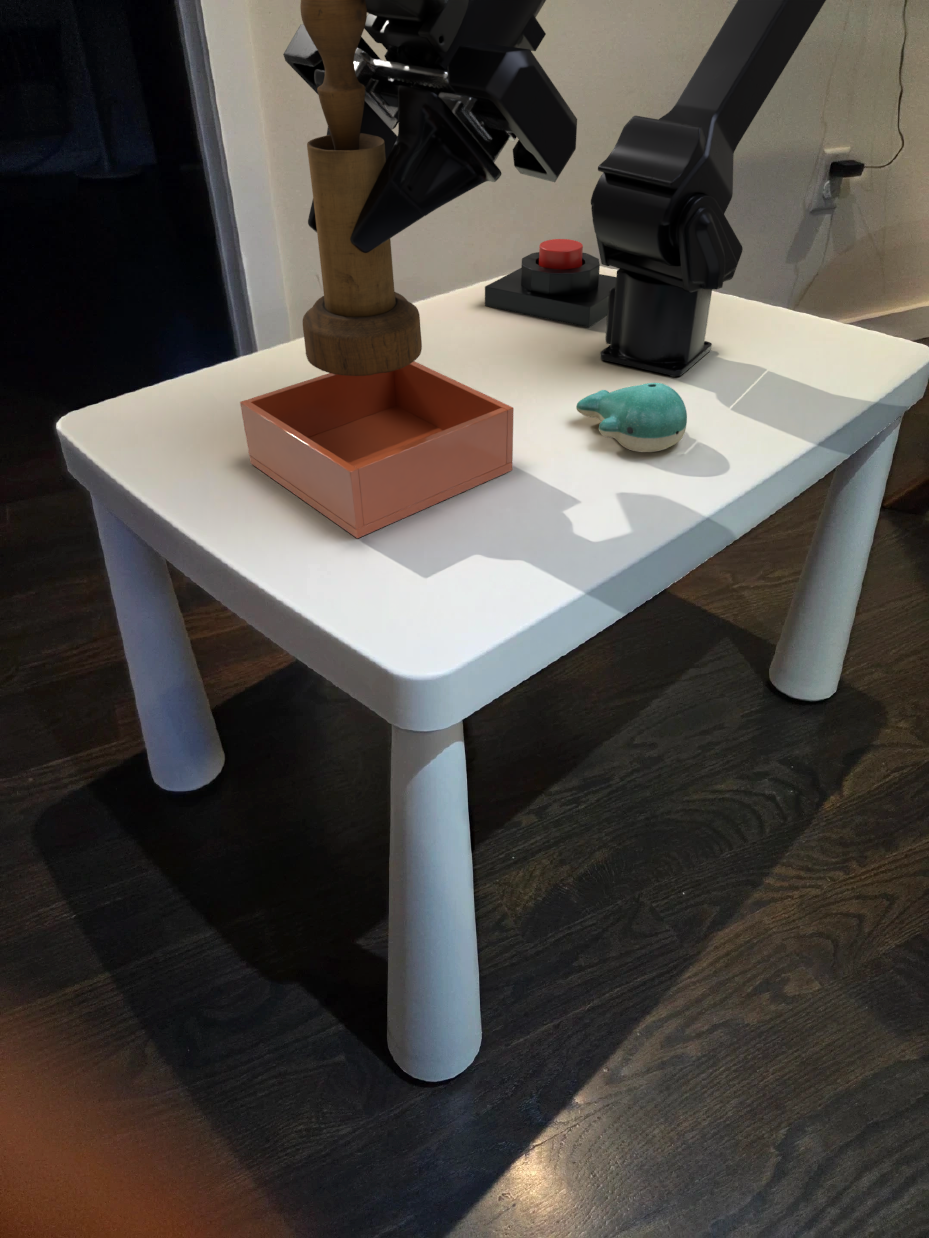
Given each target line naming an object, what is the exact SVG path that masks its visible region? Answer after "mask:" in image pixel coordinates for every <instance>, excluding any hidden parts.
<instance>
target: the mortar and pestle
mask: <svg viewBox="0 0 929 1238" xmlns="http://www.w3.org/2000/svg"><path fill="white" fill-rule="evenodd" d="M299 7H300V17H301V21H302V24H304V26H305V29H306V31H307V32H308V34H309V36H310V38H311V40H312V41H313V43H314V45H315V47H316V48H317V50H318V51H319V53H320V55H321V57H322V60H323V64H324V67H325V78H324V82H323V84H322V85H321V86H319V87H318V88H317V91H318V94H317V96H318V99H319V104H320V107H321V110H322V112H323V116H324V118H325V122H326V124H327V129H328V128H329V130H330V133H331V135H327V134H326V135H323V136H318V137H315V138H313V139H311V140H309V141H307V143H306V149H307V157H308V166H309V173H310V174H309V175H310V182H311V190H312V200H313V201H314V209H315V218H316V227H317V233H316V236H317V244H318V253H319V261H320V262H319V263H320V272H321V282H322V288H323V290H322V291H323V295H322V296H320V297H319V298H317V300H316V301H315V303H314V304H313V305H312V307H310V308H309V309H308V310H307V311H306V312H305V313H304V315H303V318H302V331H303V339H304V349H305V350H304V351H305V356H306V359H307V361H308V362H309V364H310V365H312V366H313V367H314V368H316V369H318V370H321V371H322V372H326V373H327V374H328V373H332V374H338V375H346V376H367V375H373V374H378V373H387V372H392V371H395V370H398V369H401V368H403V367H405V366H407V365H409V364H411V363H412V362H413V361H415V362H416V360H417V359H418V358H419V357H420V355H421V353H422V348H423V343H422V342H423V341H422V331H421V329H422V328H421V316H420V311H419V309H418V307H417V306H416V305H414V304H413V303H412V302H410V301H409V300H408V299H407V298H406V297H405V296H404V295H402V294H401V293H398V292H396V291H395V281H394V280H395V279H394V267H393V254H392V242H391V241H392V240H391V238H390V239H388V240H387V241H385V242H384V243H382V244H381V245H379V246H378V247H376V248H374V249H373V250H371V251H370V252H368V253H363V252H361V251H359V250H358V249H357V248H356V247H355V246H354V245H353V244H352V243H351V241H350V237H351V234H352V232H353V230H354V227H355V225H356V222H357V220H358V217H359V215H360V213H361V211H362V208H363V206H364V204H365V202H366V200H367V198H368V196H369V194H370V192H371V190H372V188H373V186H374V184H375V182H376V180H377V178H378V176H379V174H380V172H381V170H382V168H383V166H384V164H385V162H386V160H385V144H384V140H383V139H382V138H380V137H378V136H374V135H369V134H362V133H360V129H361V123H362V116H363V109H364V101H365V86H364V85H362V84H361V83H359V81H358V79H357V77H356V73H355V68H354V55H355V52H356V49H357V47H358V44H359V41H360V39H361V37H363V36H362V35H363V33H364V30H365V29H364V27H365V24H366V19H367V15H368V13H367V7H366V2H365V0H300V6H299Z"/></svg>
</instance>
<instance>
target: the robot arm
mask: <svg viewBox="0 0 929 1238" xmlns="http://www.w3.org/2000/svg"><path fill="white" fill-rule="evenodd" d="M546 1H547V0H365V2H366V7H367V19H366V24H365V27H364V30H365V32H366V33H367V34H368V35H369V36H370V38H371V39H372V40H373V41H374V42H375V43H376V44H381V45H382V46H383V48H384V49H385V50H386V51H385V54H384V59H385V60H384V59H382V58H380V56H379V55H378V54H377V53H376V51H374V50H373V48H372V47H371V46H370V45H369V43H368V42H367V41H366V40H365V39H364V38H363V36H361V39H360V41H359V44H358V47H357V49H356V52H355V55H354V68H355V73H356V77H357V79H358V81H359V83H361V84H362V85H364V86H365V101H364V109H363V116H362V123H361V129H360V133H362V134H369V135H374V136H378V137H380V138H382V139H383V140H384V144H385V160H386V162H385V164H384V166H383V168H382V170H381V172H380V174H379V176H378V178H377V180H376V182H375V184H374V186H373V188H372V190H371V192H370V194H369V196H368V198H367V200H366V202H365V204H364V206H363V208H362V211H361V213H360V215H359V217H358V220H357V222H356V225H355V227H354V230H353V232H352V234H351V237H350V241H351V243H352V244H353V245H354V246H355V247H356V248H357V249H358V250H359V251H361V252H363V253H368V252H370V251H371V250H373V249H374V248H376V247H378V246H379V245H381V244H382V243H384V242H385V241H387V240H388V239H390V240H391V238H393V237H395V236H396V235H398V234H400V233H401V232H403V231H404V230H406V229H407V228H409V227H411V226H412V225H413V224H415V223H417V222H418V221H420V220H421V219H423V218H424V217H426V216H428V215H430V214H431V213H432V212H434V211H436V210H437V209H440V208H441V207H443V206H445V205H446V204H448V203H450V202H452V201H453V200H456V199H457V198H459V197H461V196H462V195H464V194H466V193H468V192H469V191H471V190H473V189H475V188H477V187H479V186H480V185H482V184H484V183H486V182H491V183H496V182H497V181H498V180H499V179H500V178H501V177H502V175H503V174H502V170H501V169H500V168H499V166H498V165H497V164H496V163H495V162H496V161H497V160H498V158H499V156H500V154H501V153H502V151H503V149H504V148H505V146H506V145H507V143H508V142H509V141H510V142H515V141H516V139H518V140H517V142H516V143H515V145H514V147H513V148H512V158H513V166H514V168H515V169H516V170H517V171H518V172H519V174H521V175H525V176H528V177H532V178H536V179H540V180H543V181H548V182H550V183H551V182H552V183H556V182H557V180H558V178H559V177H560V175H561V173H562V172H563V171H564V169H565V168H566V165H567V164H568V163H569V161H570V159H571V158H572V156H573V154H574V153H575V151H576V150H577V133H578V132H577V131H578V118H577V117H576V114H575V113H574V112H573V110H572V108H570V106H569V105H568V103H567V102H566V100H565V98H564V97H563V96H562V94H561V93H560V92H559V90H558V88H557V87H556V86H555V84H554V82H553V81H552V79H551V78H550V77H549V75H548V74H547V72H546V71H545V69H544V68H543V67H542V65H541V64H540V62H539V60H538V59H537V58H536V56H535V54H534V53H533V52H537V50H538V48H539V46H541V45H540V44H541V43H542V41H543V40H544V38H545V36H546V34H547V33H546V32H545V30H544V29H543V26H542V25H541V24H540V22H539V21H538V19H537V16H538V15H539V13H540V12H541V10H542V8H543V7H544V5H545V3H546ZM826 1H827V0H736V3H735V4H734V6H733V7H732V9H731V11H730V12H729V14H728V16H727V17H726V19H725V21H724V23H723V24H722V26H721V28H720V29H719V31H718V33H717V35H716V36H715V38H714V39H713V41H712V43H711V44H710V46H709V48H708V49H707V50H706V53H705V54H704V56H703V58H702V59H701V61H700V62H699V65H698V66H697V68H695V71H694V72H693V75H692V76H691V78H690V79H689V81H688V82H687V85H686V86H685V87H684V89H683V90H682V93H681V95H680V96H679V98H678V100H677V101H676V103H675V104H674V106H673V107H672V108H671V110H669V111H668V112H667V113H665V114H664V115H662V116H661V117H660V118H652V117H646V116H642V115H633V116H632V117H631V118H630V119H629V120H628V121H627V122H626V124H625V125H624V126H623V128H622V130H621V132H620V134H619V137H618V139H617V141H616V143H615V144H614V147H613V149H612V150H611V151H610V153H609V154H608V156H607V157H606V159H604V160H603V161H602V162H601V163H600V164H599V165H598V166H597V171H598V172H601V175H600V177H598V180H597V182H596V183H595V184H596V185H595V186H594V189H593V191H592V194H591V198H590V205H591V206H590V207H591V208H590V209H591V218H592V224H593V230H594V233H595V237H596V243H597V247H598V253H599V260H600V264H601V265H603V266H606V267H612V268H616V269H617V270H616V275H615V277H616V286H615V287H613V288H612V289H611V290H610V291H609V300H608V312H607V316H606V323H605V324H606V325H605V337H604V338H605V339H604V341H605V343H606V345H608V346H607V347H605V348H604V349H602V350H601V351H600V354H599V355H600V356H599V359H600V360H602V361H605V362H610V363H614V364H618V365H623V366H627V367H632V368H635V369H636V368H637V369H641V370H645V371H650V372H655V373H659V374H663V375H666V376H673V377H680V376H682V375H684V374H685V373H686V372H687V371H688V370H689V369H691V368H692V367H693V366H694V365H695V364H696V363H697V362H698V361H700V360H701V359H702V358H704V356H706V355H707V354H708V353H709V352H710V351H712V347H713V344H712V342H710V341H707V340H706V333H707V327H708V322H709V321H708V320H709V313H710V308H711V302H712V301H711V300H712V294H713V290H720V289H722V288H723V285H724V283H725V282H727V281H731V280H733V278H734V276H735V273H736V270H737V268H738V264H739V261H740V259H741V256H742V254H743V245H742V243H741V242H740V239H739V238H738V237H737V235H736V232H735V231H734V229H733V227H732V226H731V224H730V222H729V220H728V218H727V217H726V215H725V213H726V212H727V210H728V207H729V205H730V203H731V201H732V199H733V195H734V158H735V157H734V156H735V155H734V154H735V152H736V149H737V148H738V146H739V144H740V142H741V140H742V139H743V137H744V135H745V134H746V132H747V130H748V129H749V127H750V126H751V124H752V123H753V120H754V119H755V117H756V115H757V114H758V113H759V111H760V109H761V108H762V106H763V104H764V103H765V101H766V99H767V98H768V96H769V95H770V93H771V91H772V90H773V88H774V87H775V85H776V83H777V81H778V80H779V78H780V77H781V75H782V73H783V72H784V70H785V68H786V67H787V65H788V63H789V62H790V60H791V58H792V57H793V55H794V53H795V52H796V50H797V48H798V47H799V45H800V44H801V42H802V40H803V39H804V37H805V36H806V34H807V32H808V31H809V29H810V27H811V26H812V24H813V22H814V21H815V19H816V18H817V16H818V15H819V12H820V11H821V9H822V8H823V6H824V4H825V3H826ZM282 54H283V58H284V61H285V62H286V63H287V64H288V65H289V66H290V67H291V68H292V69H293V71H295V73H296V74H297V75H298V76H299V77H300V78H301V79H302V80H303V81H304V82H305V83H306V84H307V85H308V86H309V87H310V88H311V90H312V91H314V93H316V94H317V95H318V91H317V88H318V87H319V86H321V85H322V84H323V82H324V78H325V67H324V64H323V60H322V57H321V55H320V53H319V51H318V50H317V48H316V47H315V45H314V43H313V41H312V40H311V38H310V36H309V34H308V32H307V31H306V29H305V26H304V24H303V23H302V24H300V25H299V26H298V28H297V30H296V31H295V33H294V35H293V37H292V38H291V40H290V42H289V44H288V45H287V47H286V49H285V50H284V52H283V53H282ZM396 127H398V128H397V131H398V132H397V134H396V133H395V132H394V129H395V128H396ZM326 135H331V133H330V130H329V128H328V127H327V129H326ZM309 209H310V210H309V214H308V219H307V224H308V227H310V229H312V230H313V231H314V232H315V233H316V234H317V227H316V218H315V209H314V201H313V199H312V201H311V205H310V208H309Z"/></svg>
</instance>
